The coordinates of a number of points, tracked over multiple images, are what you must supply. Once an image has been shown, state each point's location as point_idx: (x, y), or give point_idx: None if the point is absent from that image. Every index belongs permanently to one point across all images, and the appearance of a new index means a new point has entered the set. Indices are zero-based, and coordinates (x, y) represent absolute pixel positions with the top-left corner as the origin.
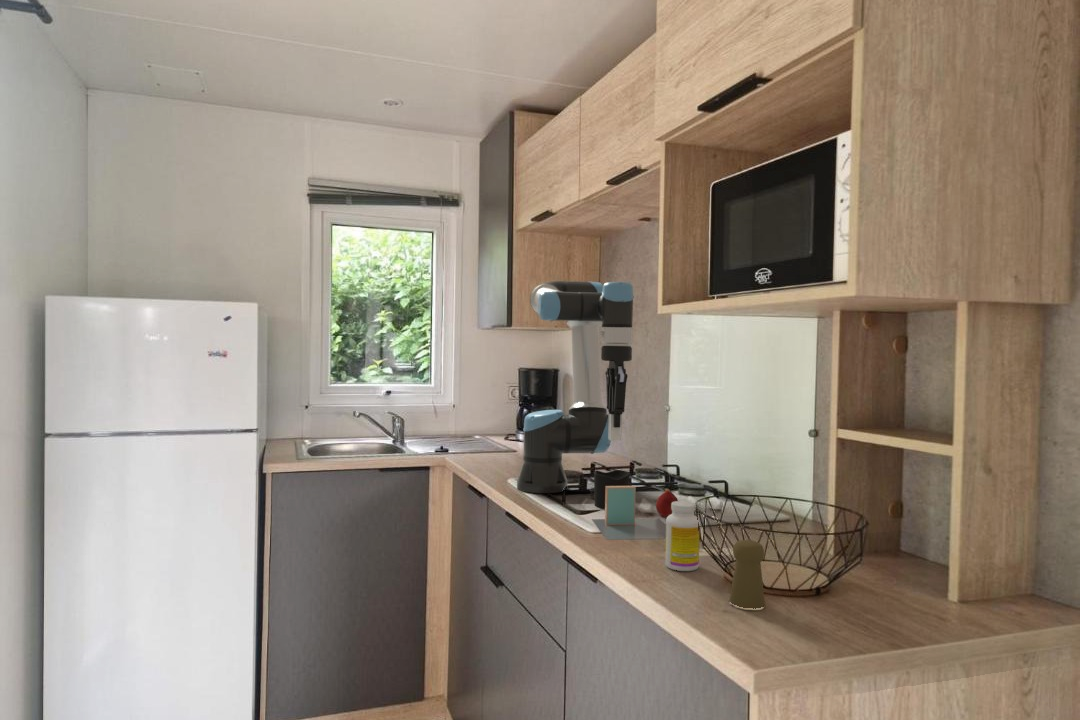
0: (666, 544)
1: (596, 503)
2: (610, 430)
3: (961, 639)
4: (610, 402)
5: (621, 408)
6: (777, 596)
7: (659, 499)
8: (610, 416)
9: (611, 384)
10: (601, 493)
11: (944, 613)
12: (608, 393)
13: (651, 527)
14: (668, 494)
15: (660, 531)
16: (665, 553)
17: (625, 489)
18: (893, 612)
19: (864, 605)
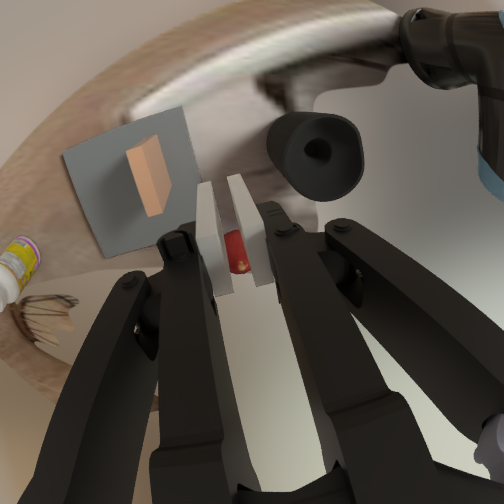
0: (4, 250)
1: (288, 114)
2: (201, 197)
3: (19, 375)
4: (279, 276)
5: (137, 329)
6: (11, 317)
7: (232, 244)
8: (210, 227)
9: (151, 469)
10: (282, 126)
11: (48, 385)
12: (402, 298)
13: (148, 217)
14: (233, 265)
15: (129, 231)
16: (13, 242)
17: (139, 193)
18: (32, 366)
19: (31, 358)
